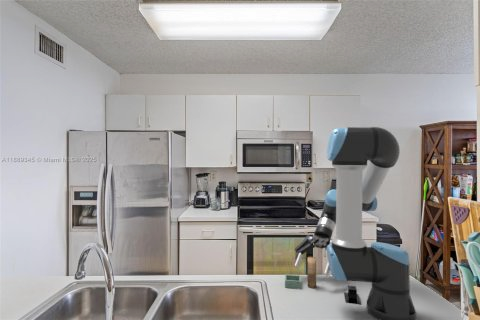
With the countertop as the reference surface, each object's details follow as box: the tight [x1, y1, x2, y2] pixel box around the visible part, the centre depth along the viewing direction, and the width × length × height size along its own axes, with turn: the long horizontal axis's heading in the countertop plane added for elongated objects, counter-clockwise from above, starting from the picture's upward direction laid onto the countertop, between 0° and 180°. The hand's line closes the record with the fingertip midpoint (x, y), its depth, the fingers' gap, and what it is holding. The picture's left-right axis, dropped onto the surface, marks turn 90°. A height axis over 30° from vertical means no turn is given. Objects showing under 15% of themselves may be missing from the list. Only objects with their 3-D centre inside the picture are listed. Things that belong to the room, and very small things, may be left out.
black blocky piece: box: [343, 285, 362, 306], centre depth 106 cm, size 12×7×5 cm, turn 164°
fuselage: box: [306, 256, 317, 289], centre depth 117 cm, size 4×4×12 cm
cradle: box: [284, 274, 302, 290], centre depth 118 cm, size 7×7×3 cm
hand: (310, 271), depth 117 cm, fingers open, 13 cm apart
